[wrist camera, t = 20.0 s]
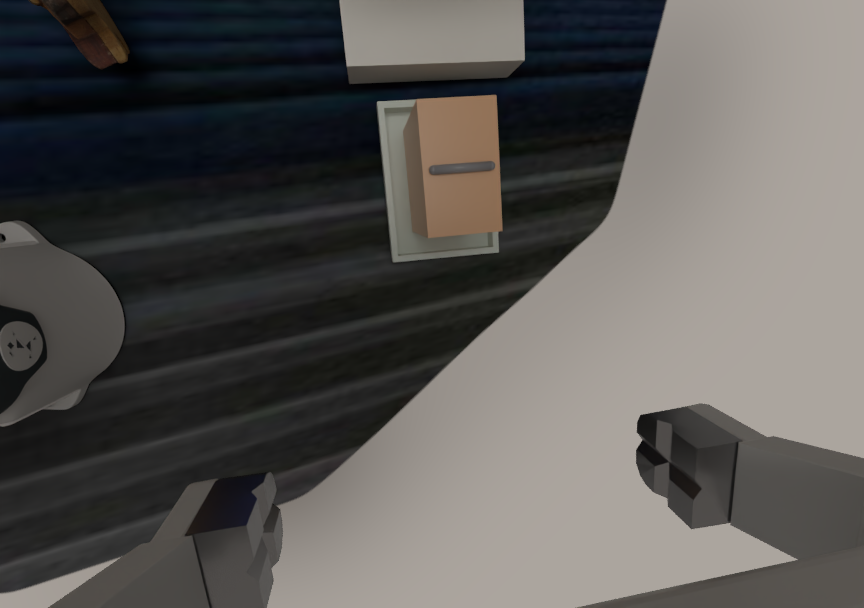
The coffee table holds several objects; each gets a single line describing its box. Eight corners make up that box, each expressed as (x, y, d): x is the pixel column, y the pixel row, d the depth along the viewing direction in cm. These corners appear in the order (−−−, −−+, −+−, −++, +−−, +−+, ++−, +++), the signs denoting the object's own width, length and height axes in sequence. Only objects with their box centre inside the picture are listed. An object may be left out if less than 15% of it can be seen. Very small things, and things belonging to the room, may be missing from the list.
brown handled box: (412, 231, 44) (429, 238, 32) (402, 130, 42) (417, 96, 30) (467, 226, 45) (505, 231, 33) (461, 127, 42) (498, 92, 30)
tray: (391, 259, 45) (392, 262, 42) (376, 107, 41) (377, 101, 39) (492, 250, 46) (498, 252, 44) (485, 102, 43) (492, 96, 40)
